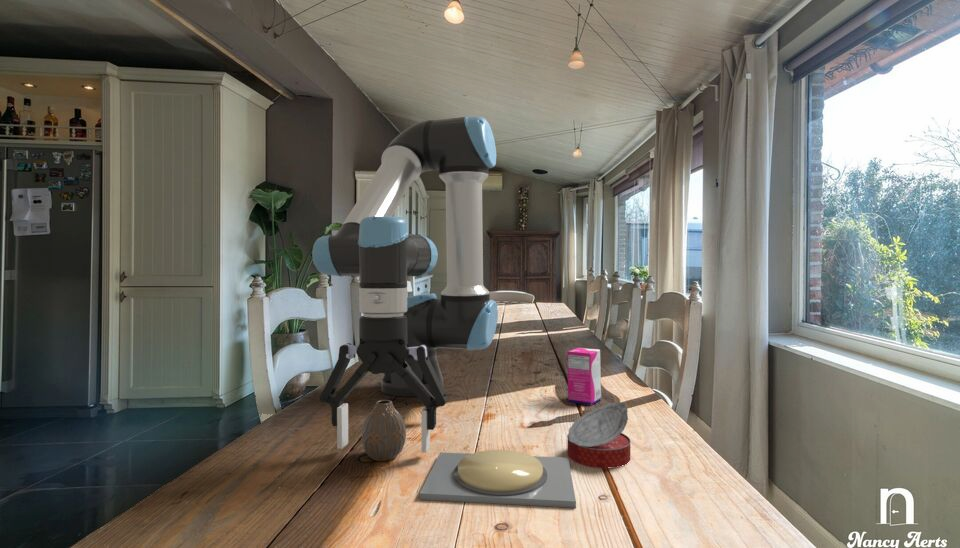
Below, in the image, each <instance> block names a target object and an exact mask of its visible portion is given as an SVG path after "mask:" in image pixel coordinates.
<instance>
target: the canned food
mask: <svg viewBox="0 0 960 548" xmlns="http://www.w3.org/2000/svg"><path fill="white" fill-rule="evenodd" d="M628 416H629V415H628V407H627V406H626V404H624V403H622V402H617V401H614V402H611V403H605V404H603V405H601V406H598V407H595V408H593V409H592V410H590V411H588V412H586V413H584V414H583V415H581V416H580V417H579V418H577V419H576V420H575V421H574V422H573V423H572V425H571V426H570V427H569V429H568V433H567V456H568V457H567V458H568V459H570V460H571V461H573V462H574V463H577V464H579V465H583V466H585V467H589V468H596V469H609V468H608V467H617V466H622V465H624V466H626V465H628V464H629V463H630V462H629V461H631V442H632V441H631V438H630V437H629V436H627V435H626V434H625V433H623V432H624V430H625V428H626V426H627V423H628V420H629V417H628ZM628 462H629V463H628ZM627 463H628V464H627ZM625 464H626V465H625ZM622 467H623V466H622ZM617 468H618V467H617Z"/></svg>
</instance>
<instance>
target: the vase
mask: <svg viewBox="0 0 960 548" xmlns="http://www.w3.org/2000/svg"><path fill="white" fill-rule="evenodd" d="M406 437H407V429H406V424H405V421H404V418H403V416H402V415H401V414H400V413H399V411H398V410H397V409H396V408H395V406H394V404H393V401H392V400H389V399H382V400H381V399H380V400H377V401H376V402H375V405H374V407H373V409H372V410H371V411H370V413H368V415H367V417H366V418H365V420H364V422H363V426H362V428H361V444H362V447H363V450H364V452H365V454H367V456H368V457H369V458H370V459H371V460H374V461H377V462H386V461H387V462H388V461H392V460H394V459H396V458H397V457H398V455H400V453H401V452H402V451H403V449H404V446H405V444H406V439H407V438H406Z"/></svg>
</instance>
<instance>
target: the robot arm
mask: <svg viewBox="0 0 960 548" xmlns="http://www.w3.org/2000/svg"><path fill="white" fill-rule="evenodd" d="M495 141H496V140H495V137H494V134H493V129H492V128H491V125H490V124H489V122H488V120H486V118H485V117H483V116H462V117H453V118H444V119H432V120H431V119H429V120H423V121H419V122H417V123H414V124H412V125H410V126H408V127H407V128H405V129H404V130H403V131H401V132H400V133H399V134H398V135H397V136H396V137H394V138H393V139H392V141H391V142H390V143H389V144H388V146H387V147H386V148H385V149H384V151H383V152H382V155H381V157H380V158H381V159H380V161H381V164H380V166H379V167H378V169H377V171H376V172H375V174H374V175H373V176H372V178H371V180H370V181H369V183H368V184H367V186H366V188H365V189H364V191H363V192H362V193H361V195H360V196H359V198H358V200H357V201H356V203H355V204H354V205H353V207H352V209H351V210H350V212H349V214H348V215H347V216H346V218H345V220H344V221H343V223H342V224H341V226H340V228H339V229H338V231H336V233H335V234H334V235H333V234H328V235H323V236H320V237H318V238H317V239H316V240H315V242H314V243H313V247H312V253H311V254H312V256H311V257H312V261H313V265H314V267H315V268H316V270H317V271H318V272H319V273H320V274H322V275H325V276H334V277H335V276H337V277H356V276H357V277H359V284H358V286H359V290H358V292H359V293H358V296H359V298H358V299H359V300H358V301H359V305H358V309H359V313H360V314H362V316H360V318H359V319H358V322H359V323H358V329H359V330H358V331H359V332H358V334H359V336H358V337H359V343H358V345H354V344H352V343H350V342H347V343H345V344H343V345H340V347H339V351H338V356H337V357H338V359H337V361H336V363H335V365H334V367H333V370H332V371H331V374H330V375H329V378H328V380H327V382H326V384H325V386H324V388H323V390H322V392H321V394H320V396H319V401H320V403H324V404H325V403H326V404H328V405H330V407H331V424H332V427H336V438H337V439H336V440H337V441H336V442H337V443H336V445H337V446H336V448H337V450H343V449H344V448H345V447H346V446H347V445H348V444H349V403H347V402H345V403H344V401H345V400H346V399H347V398H348V396H349V395H350V393H352V391H353V390H355V388H356V386H357V385H358V384H359V383H360V382H361V381H362V379H363V378H364V377H365V376H366V375H367V374H368V373H369V372H370V374H372V375H378V374H383V375H382V377H381V384H380V385H381V388H380V389H381V390H380V391H381V393H382V392H383V394H386V395H389V396H395V397H417V398H418V400H419V401H420V402H421V403H422V405H423V406H424V407H423V408H422V410H421V413H420V414H421V419H420V420H421V425H420V426H421V429H420V430H421V434H420V436H421V453H425V454H426V453H427V452H428V451H429V449H430V447H431V430H432V431H433V430H434V429H435V428H436V426H437V409H438V408H439V407H444V406H445V405H446V404H447V402H448V399H449V397H448V395H447V393H446V390H445V389H444V378H443V374H442V372H441V367H440V365H439V362H438V359H437V349H440V348H441V349H456V350H458V349H460V350H467V351H472V350H485V349H487V348H488V347H489V346H490V345H491V344H492V341H493V339H494V337H495V334H496V330H497V325H498V316H499V309H498V303H497V302H496V301H495V300H493V299H490V298H491V297H490V296H491V295H490V291H489V290H488V288H487V287H485V286H484V256H483V255H484V253H483V252H484V249H483V248H484V247H483V246H484V245H483V244H484V242H483V241H484V237H483V231H484V230H483V229H484V228H483V223H484V222H483V184H484V182H485V181H486V180H487V179H488V178H489V169H492V168H494V167H495V166H496V164H497V148H496V142H495ZM433 171H436V172H437V171H438V177H439V179H440V180H441V181H442V182H443V183H444V184H445V227H446V229H445V231H446V235H445V236H446V239H445V241H446V286H445V288H444V289H443V290H441V292H440V299H437V297H438V296H437V295H436V293H426V294H419V295H417V294H416V295H410V296H408V277H417V278H418V277H421V276H424V275H428V274H429V273H431V272H432V270H434V268H435V267H436V266H437V262H438V257H439V253H438V249H437V246H436V244H435V243H434V241H432V239H430V238H428V237H426V236H424V235H422V234H419V233H417V234H415V233H409V231H408V223H407V221H406V219H405V218H402V217H399V216H394V213H396V210H397V208H398V207H399V205H400V202H401V201H402V199H403V197H404V195H406V191H407V190H408V188H409V186H410V185H411V183H412V182H414V181H416V180H417V179H419V177H420V175H421V174H423V173H425V172H433ZM356 354H357V356H358V358H359V359H360V361H361V362H362V363H361V364H360V365H359V366H358V367H357V369H355V372H354V373H353V374H352V375H351V376H350V378H349V379H348V380H347V381H346V383H345V384H344V385H343V386H342V387H341V389H339V391H338V392H337V393H336V391H337V388H338V387H339V384H341V383H340V382H341V380H342V379H343V376H344V374H345V373H346V370H347V368H348V366H349V364H350V361H351V359H353V358H354V357H355V355H356ZM335 393H336V394H335Z"/></svg>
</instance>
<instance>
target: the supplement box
mask: <svg viewBox="0 0 960 548" xmlns="http://www.w3.org/2000/svg"><path fill="white" fill-rule="evenodd" d="M566 353H567V356H566V357H567V361H566V362H567V399H568V402H570V403H574V404H575V403H576V404H580V403H583V404H582V405H585V404H589V405H588V406H591V405H592V406H593V405H595V404H596V403H598V402H600V401H601V400H602V384H601V383H602V382H601V381H602V379H601V378H602V377H601V376H602V374H601V349H597V348H584V347H576V348H574V349H571V350H570V349H569V350H568V351H567V352H566ZM600 399H601V400H600ZM599 400H600V401H599ZM597 401H598V402H597ZM594 403H595V404H594Z"/></svg>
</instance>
